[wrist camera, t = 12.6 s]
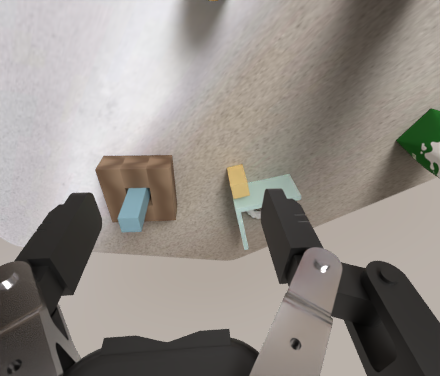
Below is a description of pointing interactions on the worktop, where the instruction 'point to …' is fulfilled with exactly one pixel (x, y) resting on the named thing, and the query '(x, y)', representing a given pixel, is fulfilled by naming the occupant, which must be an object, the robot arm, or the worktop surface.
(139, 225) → the long peg
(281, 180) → the l-shaped corner panel
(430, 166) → the milk carton
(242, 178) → the short peg
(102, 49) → the worktop surface
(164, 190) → the hole block
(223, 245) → the worktop surface
